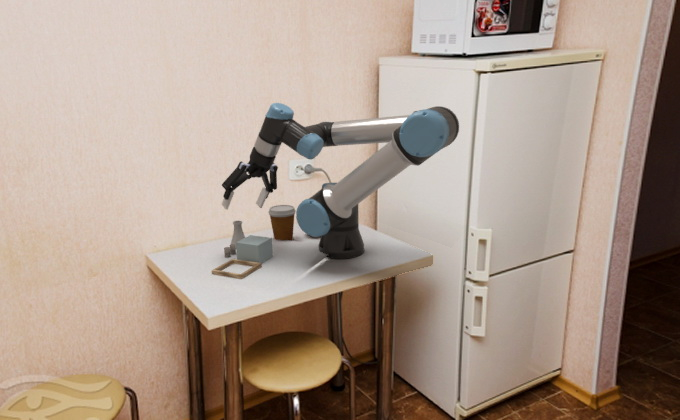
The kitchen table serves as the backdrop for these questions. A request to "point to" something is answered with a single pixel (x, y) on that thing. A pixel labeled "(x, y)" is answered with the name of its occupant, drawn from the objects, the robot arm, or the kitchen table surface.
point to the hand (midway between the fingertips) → (242, 206)
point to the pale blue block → (254, 249)
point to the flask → (237, 232)
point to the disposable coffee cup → (282, 221)
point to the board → (232, 251)
